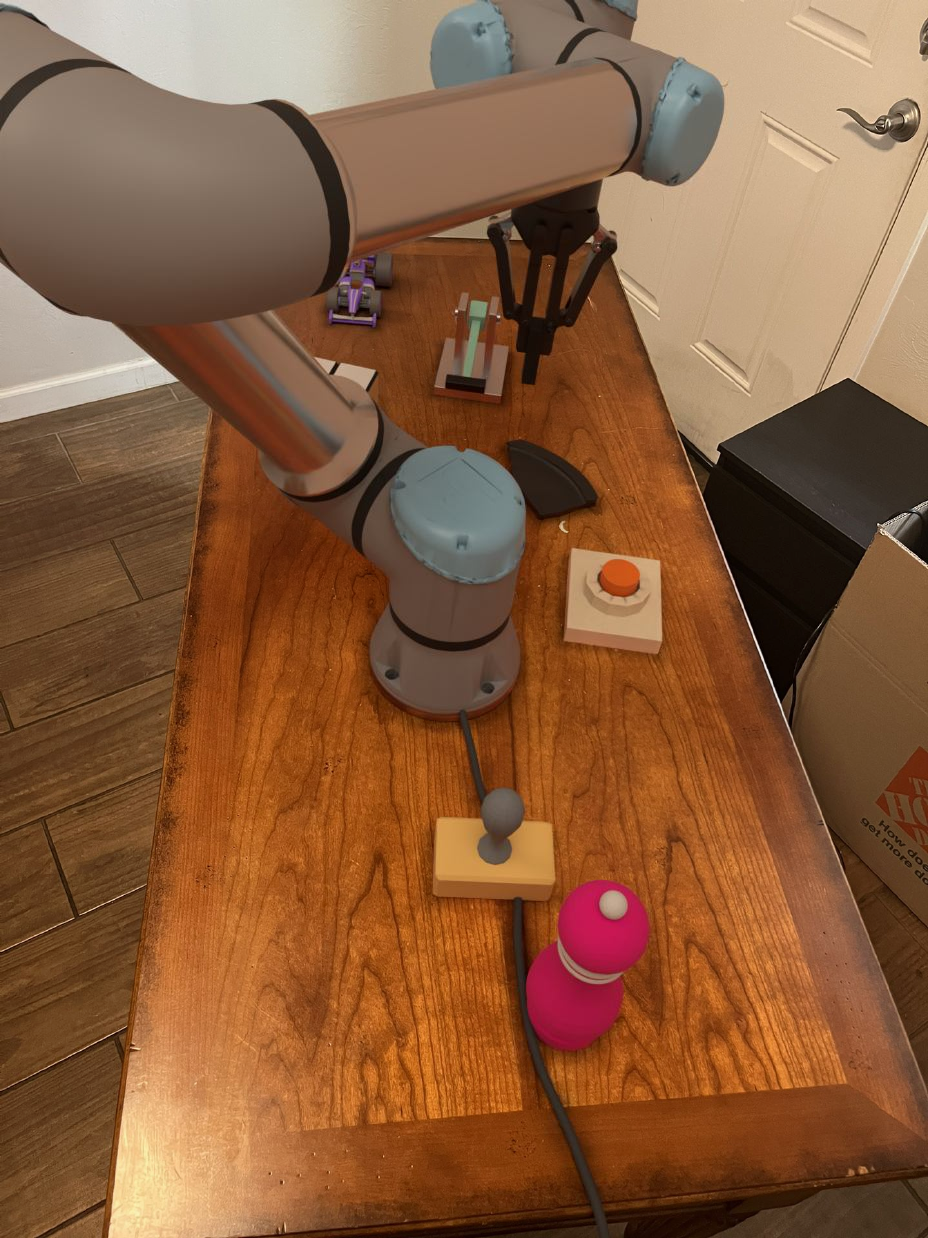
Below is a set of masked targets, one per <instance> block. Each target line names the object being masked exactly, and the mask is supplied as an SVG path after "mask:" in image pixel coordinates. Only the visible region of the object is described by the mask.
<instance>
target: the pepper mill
mask: <svg viewBox="0 0 928 1238" xmlns="http://www.w3.org/2000/svg"><path fill="white" fill-rule="evenodd" d="M650 928H651V927H650V920H649V916H648V913H647V910H646V908H645V905H644V904H643V903H642V901H641V899H640V898H639V896H637V895H636V893H635V892H634V891H633V890H631V889H630V888H629V887H628V886H626V885H624V884H622V883H620V882H617V881H614V880H608V879H593V880H589V881H585V882H583V883H582V884H580V885H578V886H577V887H575V888H574V889H573V890H572V891H571V892H569V894H568V895H567V897H566V898H565V899H564V901H563V903H562V904H561V906H560V910H559V912H558V918H557V932H558V935H557V940H556V941H554V942H552V943H550V944H549V945H547V946H546V947H544V948H543V949H542V950H541V951H540V952H539V953H538V955H536V957H535V958H534V960H533V962H532V964H531V965H530V967H529V971H528V973H527V975H526V994H527V1010H528V1014H529V1018H530V1020H531V1023H532V1025H533V1027H534V1030H535V1034H536V1037H538V1038H539V1040H541V1042H544V1044H546V1045H547V1046H549V1047H551V1048H553V1049H556V1050H559V1051H565V1052H574V1051H575V1052H576V1051H580V1050H583V1049H584V1048H587V1047H588V1046H590V1045H591V1044H593V1043H594V1042H595V1041H596V1040H597V1038H599V1037H600V1036H602V1035H604V1034H605V1033H606V1032H607V1031H609V1030H610V1028H611V1027H612V1026H613V1024H615V1022H616V1020H617V1019H618V1016H619V1014H620V1011H621V1008H622V1004H623V999H624V984H623V979H622V975H623V973H624V972H626V971H627V970H629V969H631V968H632V967H634V965H636V964H637V963H638V962H639V960H640V959H641V958H642V956H643V955H644V953H645V951H646V949H647V947H648V944H649V939H650V934H651V933H650V932H651V931H650Z"/></svg>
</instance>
